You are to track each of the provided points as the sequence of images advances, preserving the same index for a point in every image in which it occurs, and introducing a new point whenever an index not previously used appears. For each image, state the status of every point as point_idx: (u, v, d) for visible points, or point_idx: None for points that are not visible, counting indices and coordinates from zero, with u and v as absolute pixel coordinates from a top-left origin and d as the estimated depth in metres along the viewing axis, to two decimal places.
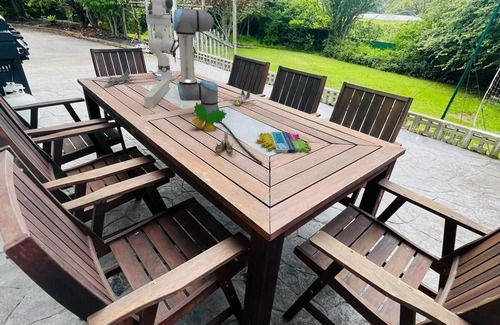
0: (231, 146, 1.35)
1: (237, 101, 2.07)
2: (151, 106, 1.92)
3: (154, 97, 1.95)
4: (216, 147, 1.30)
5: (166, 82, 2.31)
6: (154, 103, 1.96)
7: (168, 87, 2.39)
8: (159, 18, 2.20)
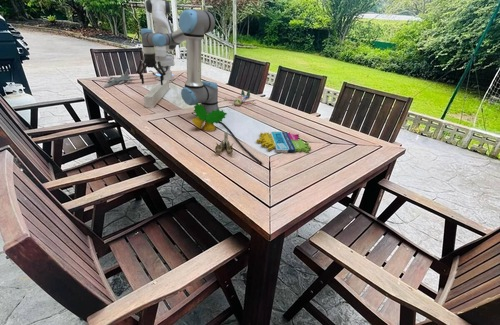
0: (231, 146, 1.35)
1: (237, 101, 2.07)
2: (151, 106, 1.92)
3: (154, 97, 1.95)
4: (216, 147, 1.30)
5: (166, 82, 2.31)
6: (154, 103, 1.96)
7: (168, 87, 2.39)
8: (162, 59, 2.24)
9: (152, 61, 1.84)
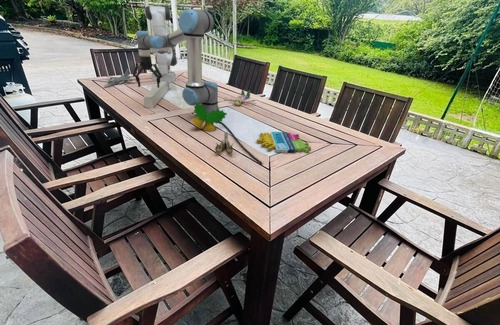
0: (231, 146, 1.35)
1: (237, 101, 2.07)
2: (151, 106, 1.92)
3: (154, 97, 1.95)
4: (216, 147, 1.30)
5: (166, 82, 2.31)
6: (154, 103, 1.96)
7: (168, 87, 2.39)
8: (164, 76, 2.31)
9: (149, 64, 1.82)
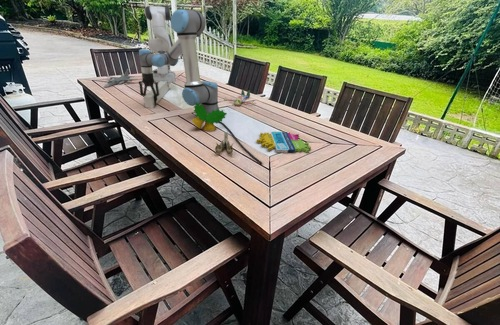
0: (231, 146, 1.35)
1: (237, 101, 2.07)
2: (151, 106, 1.92)
3: None
4: (216, 147, 1.30)
5: (166, 82, 2.31)
6: None
7: (168, 87, 2.39)
8: (164, 76, 2.31)
9: (151, 81, 1.88)
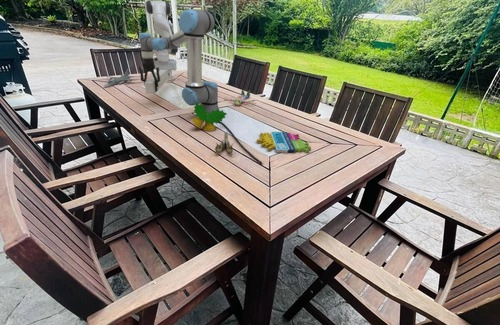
0: (231, 146, 1.35)
1: (237, 101, 2.07)
2: (152, 92, 1.87)
3: None
4: (216, 147, 1.30)
5: (167, 70, 2.27)
6: None
7: (169, 76, 2.35)
8: (164, 64, 2.26)
9: (151, 66, 1.83)
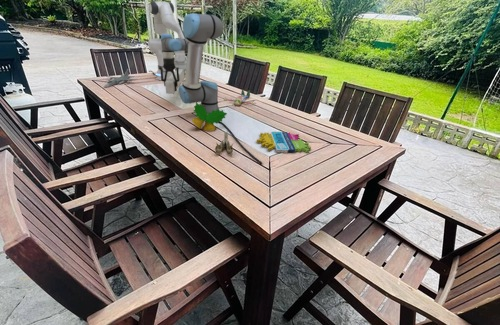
0: (231, 146, 1.35)
1: (237, 101, 2.07)
2: (172, 92, 1.92)
3: None
4: (216, 147, 1.30)
5: (183, 70, 2.32)
6: (174, 89, 1.96)
7: (184, 75, 2.40)
8: (181, 64, 2.31)
9: (172, 66, 1.88)
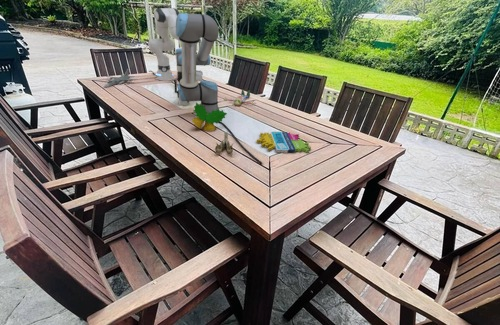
0: (231, 146, 1.35)
1: (237, 101, 2.07)
2: (185, 103, 2.00)
3: None
4: (216, 147, 1.30)
5: None
6: None
7: None
8: None
9: None
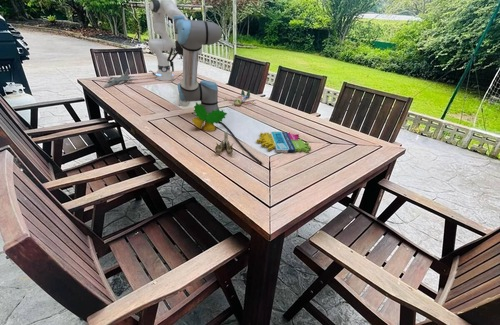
0: (231, 146, 1.35)
1: (237, 101, 2.07)
2: (185, 104, 2.00)
3: None
4: (216, 147, 1.30)
5: None
6: None
7: None
8: None
9: (183, 49, 1.86)
